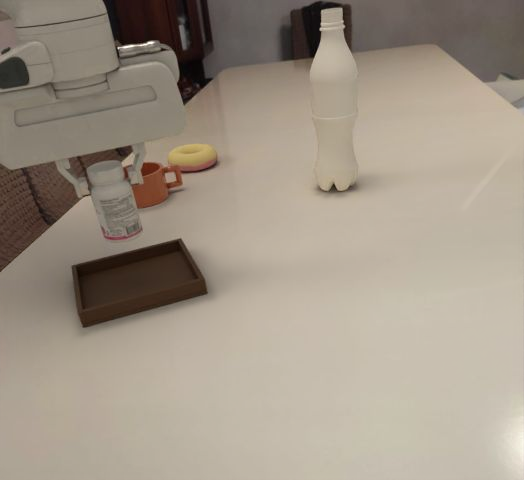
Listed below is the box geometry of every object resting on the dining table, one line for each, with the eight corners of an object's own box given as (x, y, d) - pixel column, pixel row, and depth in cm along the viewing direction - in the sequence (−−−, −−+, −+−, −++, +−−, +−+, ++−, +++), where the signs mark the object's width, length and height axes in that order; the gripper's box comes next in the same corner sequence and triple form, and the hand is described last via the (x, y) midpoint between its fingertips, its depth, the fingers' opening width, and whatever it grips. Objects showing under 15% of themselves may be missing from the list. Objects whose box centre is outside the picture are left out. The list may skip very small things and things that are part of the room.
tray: (83, 327, 62) (77, 313, 61) (75, 278, 72) (71, 265, 71) (207, 293, 65) (204, 279, 64) (183, 250, 75) (181, 237, 74)
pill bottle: (105, 231, 66) (84, 163, 61) (143, 224, 67) (125, 156, 61) (103, 247, 62) (80, 176, 57) (143, 240, 63) (124, 168, 58)
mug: (123, 212, 90) (115, 183, 87) (117, 196, 96) (109, 168, 93) (189, 196, 92) (183, 168, 89) (178, 182, 99) (173, 155, 96)
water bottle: (310, 194, 87) (300, 15, 72) (319, 178, 92) (312, 8, 77) (354, 194, 85) (353, 10, 70) (361, 178, 90) (361, 3, 75)
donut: (200, 185, 102) (227, 162, 107) (197, 163, 98) (225, 140, 103) (160, 173, 106) (188, 151, 111) (155, 151, 102) (184, 130, 107)
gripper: (167, 34, 57) (191, 163, 66) (-33, 67, 53) (20, 200, 61) (179, 39, 52) (204, 177, 61) (-39, 76, 48) (19, 219, 57)
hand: (110, 189), depth 61 cm, fingers closed on pill bottle, 5 cm apart
